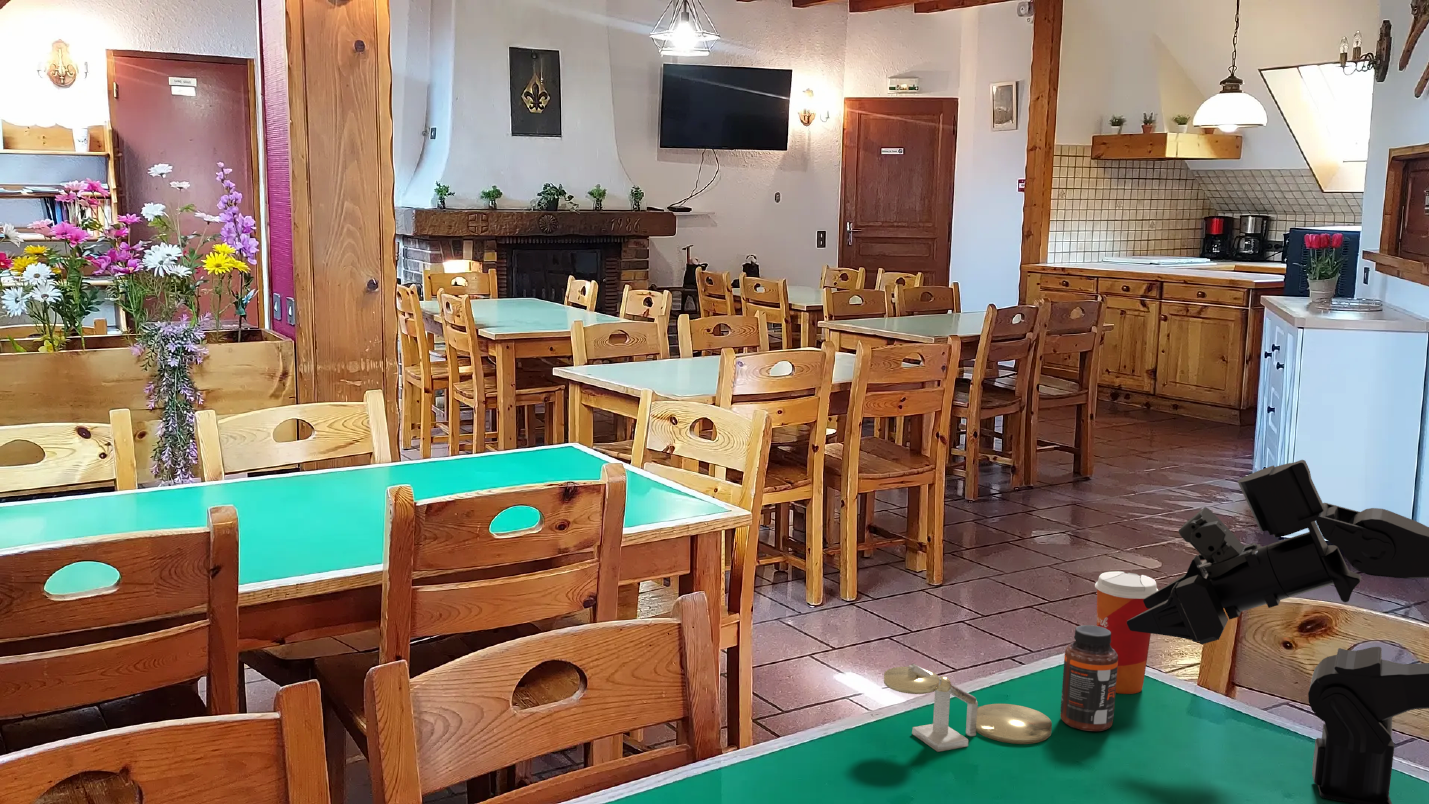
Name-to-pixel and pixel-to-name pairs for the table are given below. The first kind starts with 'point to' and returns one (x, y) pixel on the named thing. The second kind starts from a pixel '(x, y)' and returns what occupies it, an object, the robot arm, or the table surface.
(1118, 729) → the table surface
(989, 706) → the balance
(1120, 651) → the paper cup
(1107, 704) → the supplement bottle
